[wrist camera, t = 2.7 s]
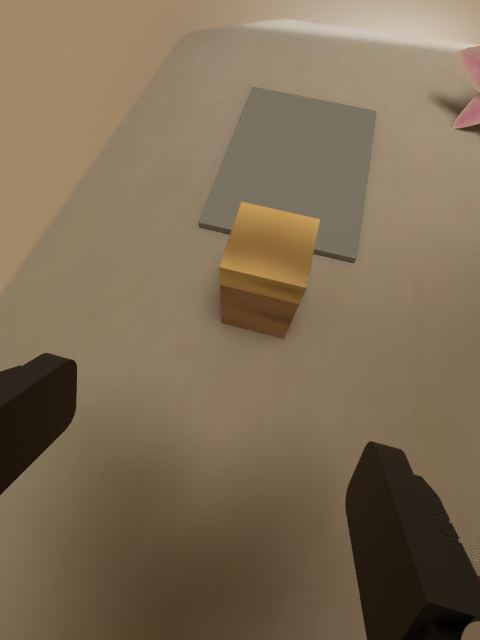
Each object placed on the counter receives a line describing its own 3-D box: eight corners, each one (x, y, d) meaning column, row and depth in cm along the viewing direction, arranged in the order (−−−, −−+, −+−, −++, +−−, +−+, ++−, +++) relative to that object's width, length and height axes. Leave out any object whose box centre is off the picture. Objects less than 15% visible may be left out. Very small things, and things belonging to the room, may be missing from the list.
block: (237, 270, 28) (241, 201, 21) (295, 284, 28) (320, 219, 20) (221, 323, 26) (219, 267, 19) (283, 338, 26) (306, 287, 18)
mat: (251, 92, 38) (252, 86, 37) (374, 116, 37) (376, 111, 36) (199, 226, 30) (198, 222, 29) (354, 262, 29) (356, 258, 28)
